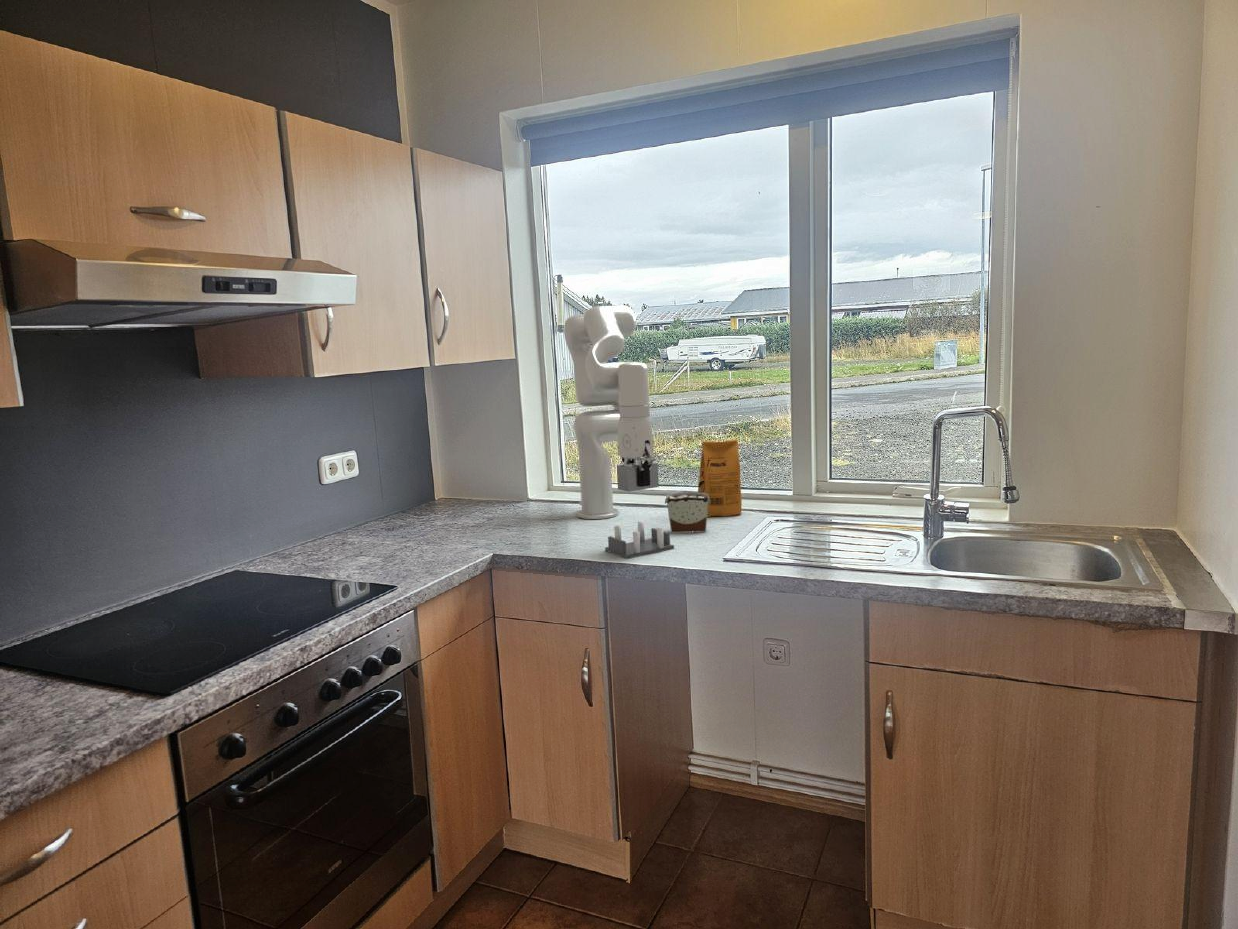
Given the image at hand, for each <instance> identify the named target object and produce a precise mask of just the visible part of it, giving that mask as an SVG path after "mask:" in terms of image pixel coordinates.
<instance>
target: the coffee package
mask: <svg viewBox="0 0 1238 929" xmlns="http://www.w3.org/2000/svg"><path fill="white" fill-rule="evenodd" d="M701 443H702V444H701V447H702V450H701V458H700V462H699V463H700V468H699V475H698V476H699V477H698V478H699V479H698V484H697V486H698V487H697V492H700V493H706V494H708V496H709V498H710V502H711V503H710V502H709V501H708V512H707V518H710V517H711V516H712V517H723V516H726V517H731V516H730V515H734V516H738V515H737V514H740V515H741V514H742V505H743V504H742V490H741V465H740V464H741V463H740V456H739V440H738V438H734V439H730V440H724V441H709V440H701Z"/></svg>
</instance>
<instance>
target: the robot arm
mask: <svg viewBox="0 0 1238 929" xmlns="http://www.w3.org/2000/svg"><path fill="white" fill-rule="evenodd" d="M636 327H637V318H636V314H635V313H634V310H633V309H632V308H631V307H630V306H628V305H625V304H623V305H622V304H620V305H619V304H618V305H615V304H614V305H596V306H593V307H590V308H589V309H587V310H586V311H585V313H581V314H574V315H572V316H570V317H568V318H566V320H565V321H564V326H563V333H564V340H565V343H566V345H567V348H568V351H569V353H570V357H571V359H572V362H573V363H572V365H573V375H574V384H575V386H574V387H575V395H576V400H577V402H578V404H579V405H581V406H582V407H603V406H612V407H613V409H607V410H605V409H602V410H599V409H598V410H588V411H583V412H580V413H579V414H578V415H577V416H576V417H575V419H574V421H573V429H574V433H575V438H576V444H577V451H578V464H579V466H578V467H579V483H580V498H581V499H580V500H579V501H578V504H579V505H580V506H581V509H580V510H578V511H577V512H576V516H577V518H580V519H582V520H583V519H584V520H601V519H602V520H603V519H609V518H614V517H616V516H617V515H619V509H618V508H615V507H614V501H613V499H614V498H613V496H614V495H613V480H612V462H611V461H612V460H611V456H610V454H609V453H610V452H608V450H606V449H605V447H604V446H603V445H602V443H608V442H609V443H610V442H617V455H618V456H619V457H620V459H621V461H622V462H623V465H624V464H631V463H638V465H639V470H640V471H638V484H639V487H644V486H650V470H651V465H652V463H654V461H655V460H656V455H655V454H654V439H653V438H654V437H653V428H652V422H651V416H650V413H651V412H650V411H651V410H650V409H651V408H650V392H649V388H650V387H649V370H648V366H647V364H646V363H644V362H639V361H616V362H614V361H612V362H609V361H611V360H612V359H615V358H616V357H617V356H619V355H620V354H621V353H622V352H623V350H624V348H625V344H626V343H625V340H626V339H628V338H629V337H631V336H632V335H633V334H634V332H635V331H636ZM642 462H644V463H642Z"/></svg>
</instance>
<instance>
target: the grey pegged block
mask: <svg viewBox="0 0 1238 929" xmlns="http://www.w3.org/2000/svg"><path fill="white" fill-rule="evenodd" d="M613 527H614V528H613V529H614V536H608V537H607V542H608V543H607V544H608V546H606V547H604V551H605V552H608V551H609V552H608V553H610V552H611V554H613V553H614V554H613V555H615V556H618V555H620V556H619V557H621V556H622V557H621V558H624V559H626V558H627V559H632V558H635V556H636V557H640V556H639V555H641V556H646V555H649V554H650V555H651V554H654V553H660V552H664V551H665V552H666V551H669V550H674V549H675V545H673V544H671V535H670V534H671V533H670V532H668V531H665V530H664V527H663V526H657V527H656V528H655V527H653V528H651V529H650V531H651V537H650V538H646V537H645V521H640V520H639V521H637V531H632V542H631V541H630V542H627V541H625V540H623V539H622V526H621V525H614V526H613ZM631 557H632V558H631Z"/></svg>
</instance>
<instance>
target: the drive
mask: <svg viewBox="0 0 1238 929" xmlns="http://www.w3.org/2000/svg"><path fill="white" fill-rule="evenodd" d="M642 463H644V461H642ZM658 464H659V463H658V462H657V463H656V462H653V463H652V465H651V470H650V486H644V487H639V484H638V471H640V470H639V465H638V462H635V463H631V464H624V463H623V464H619V465H616V478H617V490H619V491H620V490H621V491H624V492H635V491H640V490H648V489H654V488H655V489H656V488H659V465H658Z"/></svg>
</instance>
